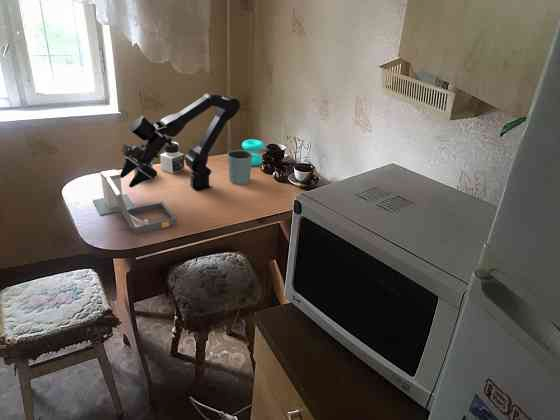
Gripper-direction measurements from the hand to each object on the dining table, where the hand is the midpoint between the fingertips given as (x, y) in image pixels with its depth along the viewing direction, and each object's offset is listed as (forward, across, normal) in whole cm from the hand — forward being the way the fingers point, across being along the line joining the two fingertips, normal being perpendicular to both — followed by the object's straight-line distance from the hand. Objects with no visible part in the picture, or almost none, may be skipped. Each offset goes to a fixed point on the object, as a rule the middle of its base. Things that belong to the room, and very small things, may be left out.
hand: (125, 182), depth 154 cm
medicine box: (-4, -20, +16) cm, 25 cm away
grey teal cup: (-26, +3, +39) cm, 47 cm away
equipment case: (+6, +17, +5) cm, 19 cm away
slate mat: (+9, 0, +2) cm, 9 cm away
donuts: (-38, -11, +50) cm, 64 cm away
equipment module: (+9, 0, +2) cm, 9 cm away
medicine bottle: (-13, -20, +25) cm, 35 cm away
